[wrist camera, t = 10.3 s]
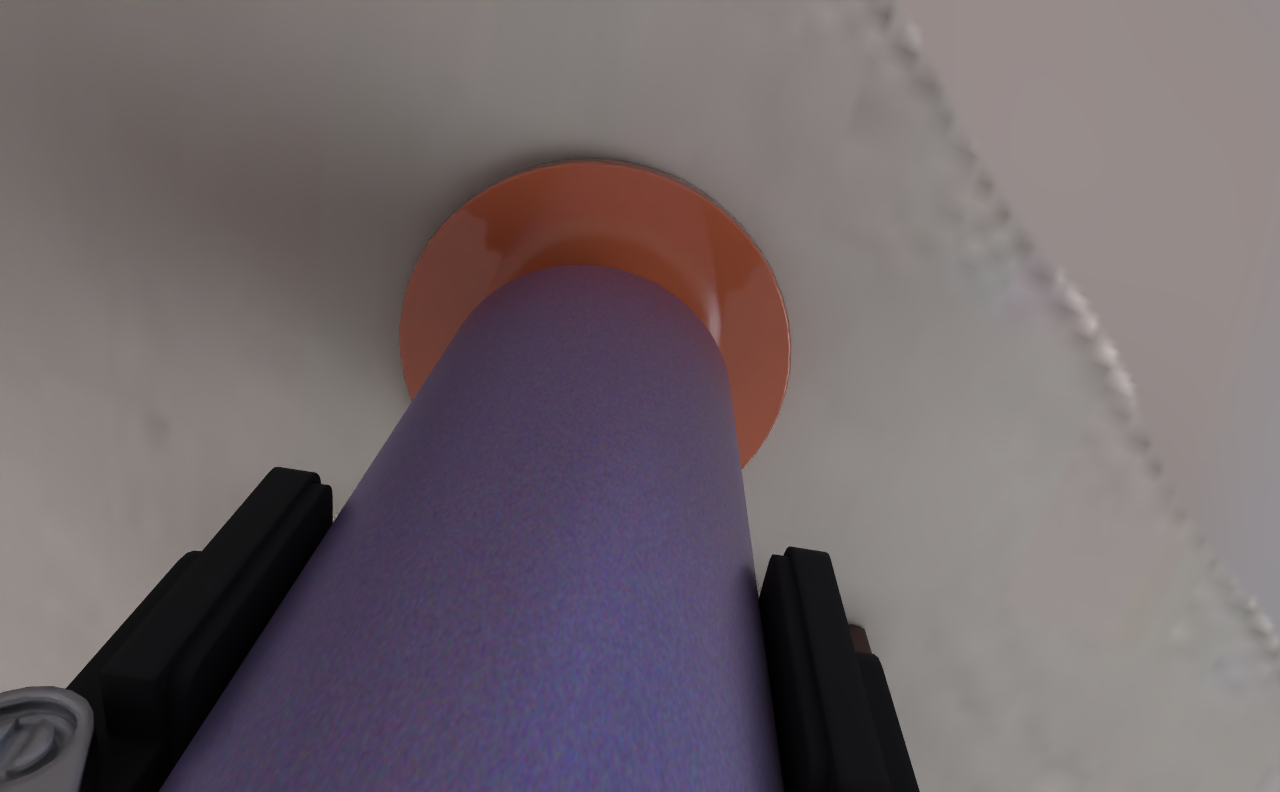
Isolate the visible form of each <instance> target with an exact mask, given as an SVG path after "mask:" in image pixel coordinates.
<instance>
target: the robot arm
mask: <svg viewBox="0 0 1280 792" xmlns="http://www.w3.org/2000/svg"><path fill="white" fill-rule="evenodd" d="M332 522H333V495H332V488H331V487H330V486H329V485H324V484H321V480H320V477H319V475H318V474H317V473H314V472H308V471H301V470H295V469H288V468H282V467H274V468H273V469H272V470H271V471H270V472H269V473H268V474H267V475H266V477H265V478H264V479H263V480H262V481H261V483H260V484H259V485H258V486H257V487H256V488H255V490H254V491H253V492H252V493H251V494H250V495H249V497H248V498H247V499H246V500H245V501H244V502H243V504H242V505H241V506H240V507H239V508H238V510H237V511H236V512H235V513H234V514H233V515H232V517H231V518H230V519H229V520H228V521H227V522H226V524H225V525H224V526H223V527H222V528H221V529H220V531H219V532H218V533H217V534H216V535H215V536H214V538H213V539H212V540H211V541H210V542H209V544H208V545H207V546H206V547H205V548H204V549H203V551H202V552H201V551H195V550H194V551H191V552H188V553H186V554H185V555H184V556H183V557H182V558H181V559H180V560H179V561H178V562H177V563H176V564H175V565H174V566H173V567H172V568H171V570H170V571H169V572H168V573H167V574H166V575H165V576H164V578H163V579H162V580H161V581H160V582H159V583H158V584H157V586H156V587H155V588H154V589H153V590H152V591H151V592H150V594H149V595H148V596H147V597H146V598H145V599H144V600H143V601H142V603H141V604H140V605H139V606H138V607H137V608H136V609H135V611H134V612H133V613H132V614H131V615H130V616H129V617H128V619H127V620H126V621H125V622H124V623H123V624H122V625H121V626H120V628H119V629H118V630H117V631H116V632H115V633H114V634H113V636H112V637H111V638H110V639H109V640H108V641H107V642H106V644H105V645H104V646H103V647H102V648H101V649H100V650H99V651H98V653H97V654H96V655H95V656H94V657H93V658H92V659H91V661H90V662H89V663H88V664H87V665H86V666H85V667H84V669H83V670H82V671H81V672H80V673H79V674H78V675H77V676H76V678H75V679H74V680H73V681H72V682H71V683H70V684H69V686H68V687H67V688H66V689H63V688H58V687H54V686H38V687H25V688H20V689H16V690H11V691H6V692H2V693H0V792H159V790H160V789H161V787H162V786H163V784H164V782H165V781H166V779H167V778H168V776H169V775H170V773H171V772H172V770H173V769H174V767H175V766H176V764H177V762H178V761H179V759H180V758H181V756H182V755H183V753H184V752H185V750H186V749H187V747H188V746H189V744H190V742H191V741H192V739H193V738H194V736H195V735H196V733H197V732H198V730H199V729H200V727H201V726H202V724H203V722H204V721H205V719H206V718H207V716H208V715H209V713H210V712H211V710H212V709H213V707H214V706H215V704H216V702H217V701H218V699H219V698H220V696H221V695H222V693H223V692H224V690H225V689H226V687H227V685H228V684H229V682H230V681H231V679H232V678H233V676H234V675H235V673H236V672H237V670H238V669H239V667H240V665H241V664H242V662H243V661H244V659H245V658H246V656H247V655H248V653H249V652H250V650H251V649H252V647H253V645H254V644H255V642H256V641H257V639H258V638H259V636H260V635H261V633H262V632H263V630H264V629H265V627H266V625H267V624H268V622H269V621H270V619H271V618H272V616H273V615H274V613H275V612H276V610H277V609H278V607H279V605H280V604H281V602H282V601H283V599H284V598H285V596H286V595H287V593H288V592H289V590H290V589H291V587H292V585H293V584H294V582H295V581H296V579H297V578H298V576H299V575H300V573H301V572H302V570H303V569H304V567H305V565H306V564H307V562H308V561H309V559H310V558H311V556H312V555H313V553H314V552H315V550H316V549H317V547H318V545H319V544H320V542H321V541H322V539H323V538H324V536H325V535H326V533H327V532H328V530H329V529H330V527H331V525H332ZM759 606H760V613H761V621H762V628H763V636H764V643H765V651H766V658H767V666H768V673H769V681H770V688H771V696H772V703H773V711H774V718H775V726H776V733H777V741H778V748H779V756H780V763H781V771H782V778H783V786H784V792H920V791H919V788H918V785H917V781H916V778H915V775H914V771H913V768H912V765H911V761H910V758H909V755H908V751H907V748H906V745H905V741H904V738H903V735H902V731H901V728H900V725H899V721H898V718H897V715H896V711H895V708H894V705H893V701H892V698H891V695H890V691H889V688H888V685H887V681H886V678H885V675H884V671H883V668H882V665H881V663H880V661H879V658H878V657H877V656H875V655H874V654H870V653H864V652H857V651H855V649H854V645H853V642H852V638H851V634H850V630H849V627H848V623H847V619H846V615H845V611H844V608H843V604H842V600H841V596H840V593H839V589H838V585H837V581H836V578H835V574H834V570H833V566H832V563H831V559H830V556H829V554H828V553H826V552H821V551H815V550H808V549H802V548H796V547H788V548H787V549H786V551H785V553H784V556H781V555H774V554H773V555H772V556H771V558H770V561H769V564H768V567H767V571H766V575H765V578H764V582H763V586H762V589H761V593H760V597H759Z"/></svg>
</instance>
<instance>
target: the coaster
mask: <svg viewBox="0 0 1280 792" xmlns="http://www.w3.org/2000/svg"><path fill="white" fill-rule="evenodd" d="M564 265H596V266H604V267H610V268H615V269H619V270H623V271H627V272H630V273H633V274H636V275H638V276H641V277H643V278H645V279H648V280H650V281H652V282H654V283H656V284H658V285H659V286H661V287H663V288H664V289H666V290H668V291H669V292H671V293H672V294H673V295H675V296H676V297H678V298H679V299H680V300H681V301H682V302H683V303H685V304H686V305H687V306H688V307H689V308H690V309H691V310H692V311H693V312H694V313H695V314H696V315H697V316H698V317H699V319H700V320H701V321H702V322H703V323H704V325H705V326H706V327H707V329H708V330H709V332H710V333H711V335H712V337H713V338H714V340H715V342H716V344H717V346H718V348H719V349H720V352H721V354H722V357H723V359H724V362H725V365H726V368H727V372H728V377H729V381H730V388H731V396H732V403H733V411H734V418H735V426H736V433H737V441H738V448H739V456H740V463H741V469H742V468H743V467H744V466H745V465H746V464H747V463H748V462H749V460H750V459H751V458H752V457H753V456H754V455H755V454H756V452H757V451H758V449H759V448H760V446H761V445H762V443H763V442H764V440H765V439H766V437H767V436H768V434H769V432H770V430H771V428H772V426H773V424H774V422H775V420H776V418H777V416H778V414H779V411H780V408H781V405H782V402H783V399H784V396H785V393H786V389H787V383H788V378H789V372H790V360H791V339H790V330H789V320H788V316H787V313H786V309H785V305H784V301H783V297H782V294H781V291H780V288H779V286H778V284H777V281H776V279H775V276H774V274H773V271H772V269H771V267H770V265H769V263H768V262H767V260H766V258H765V257H764V255H763V253H762V252H761V250H760V248H759V246H758V245H757V244H756V242H755V241H754V240H753V239H752V237H751V236H750V235H749V234H748V232H747V231H746V230H745V228H744V227H743V226H742V225H741V224H740V223H739V222H738V221H737V220H736V219H735V218H734V217H733V216H732V215H731V214H730V213H729V212H728V211H727V210H726V209H725V208H724V207H722V206H721V205H720V204H718V203H717V202H716V201H714V200H713V199H712V198H710V197H709V196H707V195H706V194H705V193H703V192H702V191H701V190H699V189H697V188H695V187H693V186H691V185H689V184H688V183H686V182H684V181H682V180H680V179H678V178H677V177H674V176H671V175H669V174H666V173H663V172H661V171H658V170H656V169H653V168H650V167H646V166H642V165H637V164H633V163H629V162H625V161H616V160H606V159H568V160H563V161H557V162H551V163H545V164H540V165H537V166H534V167H531V168H528V169H525V170H521V171H518V172H515V173H513V174H511V175H509V176H507V177H505V178H503V179H501V180H499V181H497V182H494V183H492V184H491V185H489V186H488V187H486V188H485V189H483V190H482V191H480V192H479V193H477V194H476V195H474V196H473V197H471V198H470V199H469V200H468V201H466V202H465V203H464V204H463V205H462V206H461V207H460V208H459V209H458V210H456V211H455V212H454V213H453V214H452V215H451V216H450V217H449V218H448V219H447V220H446V221H445V222H444V224H443V225H442V226H441V227H440V228H439V230H438V231H437V232H436V233H435V234H434V236H433V237H432V238H431V239H430V241H429V243H428V244H427V246H426V248H425V249H424V251H423V252H422V254H421V256H420V257H419V259H418V261H417V263H416V266H415V268H414V270H413V273H412V275H411V277H410V280H409V282H408V285H407V289H406V293H405V297H404V301H403V305H402V312H401V321H400V330H399V331H400V355H401V361H402V367H403V373H404V378H405V381H406V384H407V387H408V391H409V394H410V397H411V400H412V401H413V399H414V398H415V396H416V395H417V393H418V392H419V390H420V388H421V387H422V385H423V384H424V382H425V381H426V379H427V378H428V376H429V375H430V373H431V372H432V370H433V368H434V367H435V365H436V364H437V362H438V361H439V359H440V358H441V356H442V355H443V353H444V352H445V350H446V348H447V347H448V345H449V344H450V342H451V341H452V339H453V338H454V336H455V335H456V333H457V332H458V330H459V329H460V327H461V326H462V324H463V323H464V321H465V320H466V318H467V317H468V316H469V315H470V313H471V312H472V311H473V310H474V309H475V308H476V307H477V306H478V305H479V304H480V303H481V302H482V301H483V300H484V299H485V298H486V297H488V296H489V295H490V294H492V293H493V292H494V291H496V290H497V289H498V288H500V287H502V286H503V285H505V284H507V283H509V282H511V281H513V280H515V279H517V278H519V277H521V276H524V275H526V274H529V273H532V272H535V271H538V270H542V269H546V268H551V267H557V266H564Z"/></svg>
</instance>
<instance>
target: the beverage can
mask: <svg viewBox="0 0 1280 792" xmlns="http://www.w3.org/2000/svg"><path fill="white" fill-rule="evenodd" d="M159 792H784V786H783V778H782V771H781V763H780V756H779V748H778V741H777V733H776V726H775V718H774V711H773V703H772V696H771V688H770V681H769V673H768V666H767V658H766V651H765V643H764V636H763V628H762V621H761V613H760V606H759V598H758V591H757V583H756V576H755V568H754V561H753V553H752V546H751V538H750V531H749V523H748V516H747V508H746V501H745V493H744V486H743V478H742V471H741V463H740V456H739V448H738V441H737V433H736V426H735V418H734V411H733V403H732V396H731V388H730V381H729V377H728V372H727V368H726V365H725V362H724V359H723V357H722V354H721V352H720V349H719V348H718V346H717V344H716V342H715V340H714V338H713V337H712V335H711V333H710V332H709V330H708V329H707V327H706V326H705V325H704V323H703V322H702V321H701V320H700V319H699V317H698V316H697V315H696V314H695V313H694V312H693V311H692V310H691V309H690V308H689V307H688V306H687V305H686V304H685V303H683V302H682V301H681V300H680V299H679V298H678V297H676V296H675V295H673V294H672V293H671V292H669V291H668V290H666V289H664V288H663V287H661V286H659V285H658V284H656V283H654V282H652V281H650V280H648V279H645V278H643V277H641V276H638V275H636V274H633V273H630V272H627V271H623V270H619V269H615V268H610V267H604V266H596V265H564V266H557V267H551V268H546V269H542V270H538V271H535V272H532V273H529V274H526V275H524V276H521V277H519V278H517V279H515V280H513V281H511V282H509V283H507V284H505V285H503V286H502V287H500V288H498V289H497V290H496V291H494V292H493V293H492V294H490V295H489V296H488V297H486V298H485V299H484V300H483V301H482V302H481V303H480V304H479V305H478V306H477V307H476V308H475V309H474V310H473V311H472V312H471V313H470V315H469V316H468V317H467V318H466V320H465V321H464V323H463V324H462V326H461V327H460V329H459V330H458V332H457V333H456V335H455V336H454V338H453V339H452V341H451V342H450V344H449V345H448V347H447V348H446V350H445V352H444V353H443V355H442V356H441V358H440V359H439V361H438V362H437V364H436V365H435V367H434V368H433V370H432V372H431V373H430V375H429V376H428V378H427V379H426V381H425V382H424V384H423V385H422V387H421V388H420V390H419V392H418V393H417V395H416V396H415V398H414V399H413V401H412V402H411V404H410V405H409V407H408V408H407V410H406V412H405V413H404V415H403V416H402V418H401V419H400V421H399V422H398V424H397V425H396V427H395V428H394V430H393V432H392V433H391V435H390V436H389V438H388V439H387V441H386V442H385V444H384V445H383V447H382V448H381V450H380V452H379V453H378V455H377V456H376V458H375V459H374V461H373V462H372V464H371V465H370V467H369V468H368V470H367V472H366V473H365V475H364V476H363V478H362V479H361V481H360V482H359V484H358V485H357V487H356V489H355V490H354V492H353V493H352V495H351V496H350V498H349V499H348V501H347V502H346V504H345V505H344V507H343V509H342V510H341V512H340V513H339V515H338V516H337V518H336V519H335V521H334V522H333V524H332V525H331V527H330V529H329V530H328V532H327V533H326V535H325V536H324V538H323V539H322V541H321V542H320V544H319V545H318V547H317V549H316V550H315V552H314V553H313V555H312V556H311V558H310V559H309V561H308V562H307V564H306V565H305V567H304V569H303V570H302V572H301V573H300V575H299V576H298V578H297V579H296V581H295V582H294V584H293V585H292V587H291V589H290V590H289V592H288V593H287V595H286V596H285V598H284V599H283V601H282V602H281V604H280V605H279V607H278V609H277V610H276V612H275V613H274V615H273V616H272V618H271V619H270V621H269V622H268V624H267V625H266V627H265V629H264V630H263V632H262V633H261V635H260V636H259V638H258V639H257V641H256V642H255V644H254V645H253V647H252V649H251V650H250V652H249V653H248V655H247V656H246V658H245V659H244V661H243V662H242V664H241V665H240V667H239V669H238V670H237V672H236V673H235V675H234V676H233V678H232V679H231V681H230V682H229V684H228V685H227V687H226V689H225V690H224V692H223V693H222V695H221V696H220V698H219V699H218V701H217V702H216V704H215V706H214V707H213V709H212V710H211V712H210V713H209V715H208V716H207V718H206V719H205V721H204V722H203V724H202V726H201V727H200V729H199V730H198V732H197V733H196V735H195V736H194V738H193V739H192V741H191V742H190V744H189V746H188V747H187V749H186V750H185V752H184V753H183V755H182V756H181V758H180V759H179V761H178V762H177V764H176V766H175V767H174V769H173V770H172V772H171V773H170V775H169V776H168V778H167V779H166V781H165V782H164V784H163V786H162V787H161V789H160V790H159Z"/></svg>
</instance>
